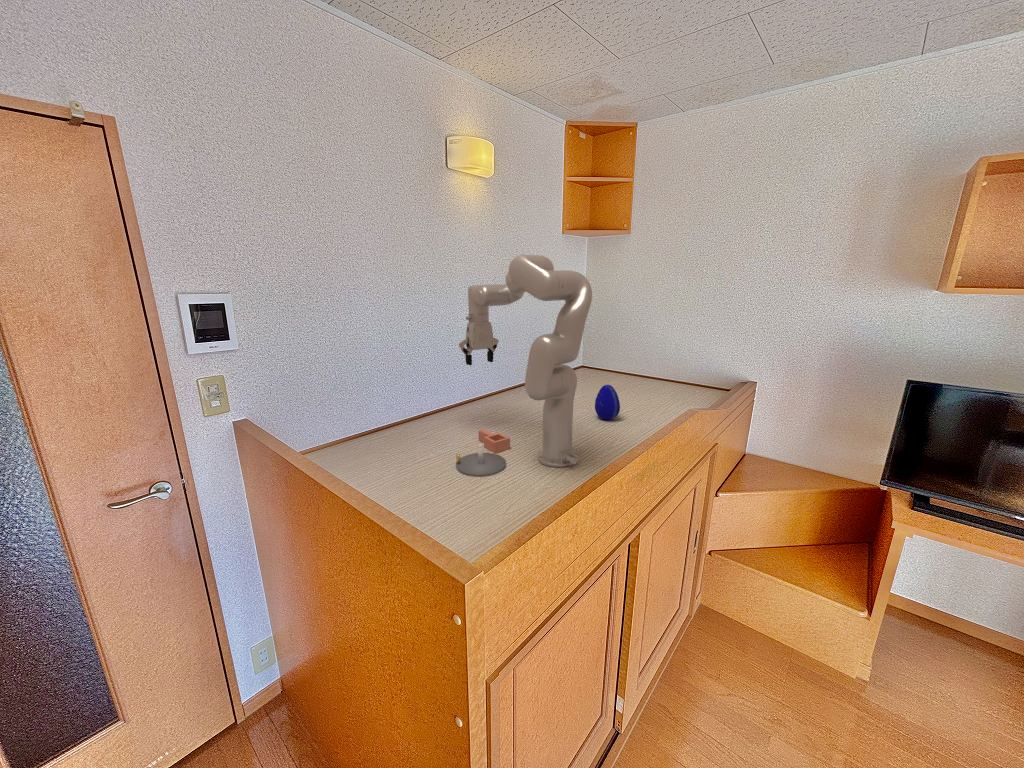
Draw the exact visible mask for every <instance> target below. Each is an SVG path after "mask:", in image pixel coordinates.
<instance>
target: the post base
mask: <svg viewBox="0 0 1024 768" xmlns="http://www.w3.org/2000/svg"><path fill="white" fill-rule="evenodd" d="M484 449H485V448H484V444H482V443H478V445H477V452H476V453H475V452H474V453H470V454H467V455H463V456H462V457H460V464H457V461H456V462H455V469H456V471H458V472H459V473H460V474H462V475H465V476H468V477H469V476H470V477H478V478H479V477H481V478H482V477H489V476H493V475H496V474H499V473H501V472H502V471H504V470H505V468H506V467H507V461H506V459H505V458H504V457H503V456H501V455H498V453H493V452H484Z"/></svg>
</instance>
